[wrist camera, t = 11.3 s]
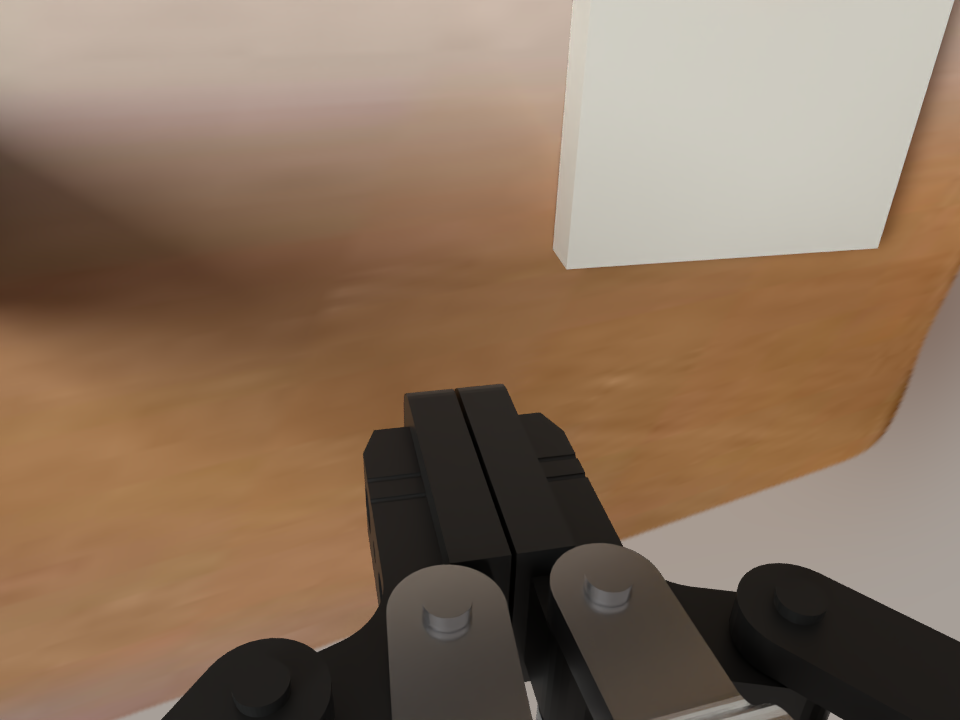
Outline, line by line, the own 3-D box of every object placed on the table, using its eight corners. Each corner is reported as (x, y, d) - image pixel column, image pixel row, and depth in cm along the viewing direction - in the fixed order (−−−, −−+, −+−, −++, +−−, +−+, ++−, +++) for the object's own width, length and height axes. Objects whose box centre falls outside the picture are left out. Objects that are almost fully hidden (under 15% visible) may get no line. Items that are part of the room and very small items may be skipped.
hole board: (851, 230, 47) (877, 248, 45) (552, 249, 44) (566, 269, 42) (1003, -298, 34) (1049, -307, 32) (599, -329, 31) (622, -342, 29)
